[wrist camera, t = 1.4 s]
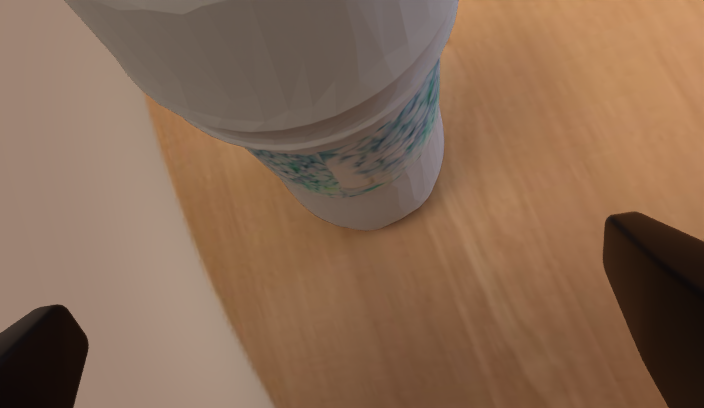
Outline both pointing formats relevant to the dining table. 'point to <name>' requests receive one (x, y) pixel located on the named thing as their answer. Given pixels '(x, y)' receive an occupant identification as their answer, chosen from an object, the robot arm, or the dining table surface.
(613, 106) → the dining table surface
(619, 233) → the robot arm
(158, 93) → the bottle
